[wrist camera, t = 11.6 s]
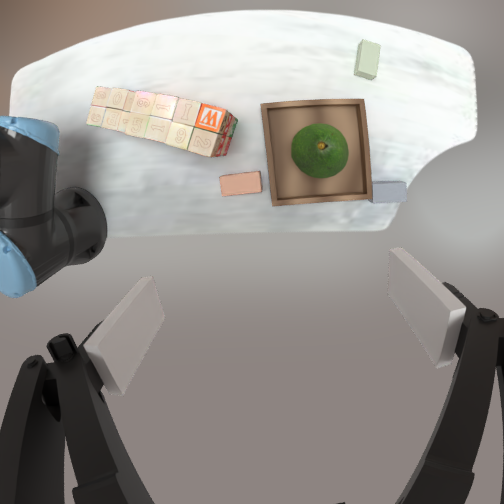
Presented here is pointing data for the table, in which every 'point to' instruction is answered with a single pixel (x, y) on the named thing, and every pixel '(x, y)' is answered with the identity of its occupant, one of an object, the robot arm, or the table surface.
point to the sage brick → (367, 59)
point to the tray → (285, 170)
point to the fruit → (320, 150)
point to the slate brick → (388, 192)
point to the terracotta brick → (241, 183)
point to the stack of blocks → (164, 119)
